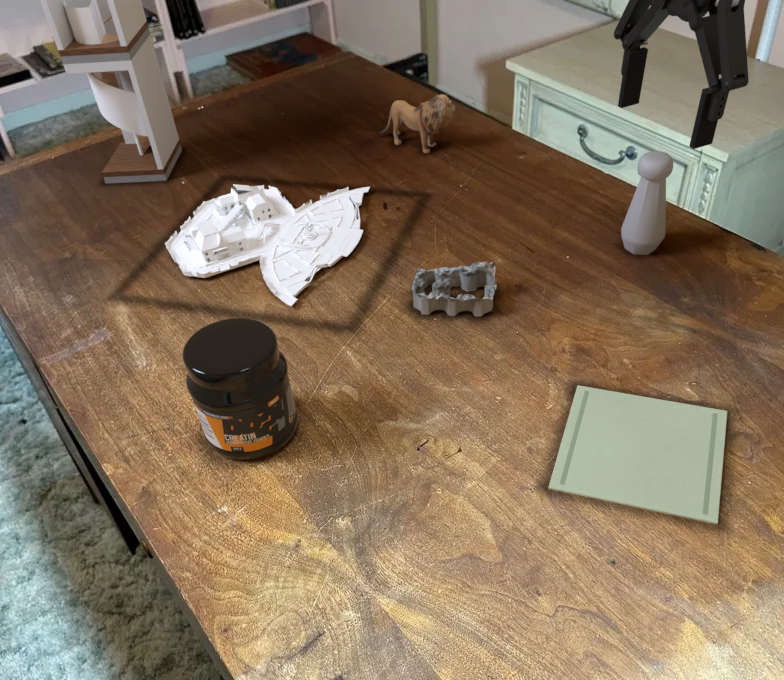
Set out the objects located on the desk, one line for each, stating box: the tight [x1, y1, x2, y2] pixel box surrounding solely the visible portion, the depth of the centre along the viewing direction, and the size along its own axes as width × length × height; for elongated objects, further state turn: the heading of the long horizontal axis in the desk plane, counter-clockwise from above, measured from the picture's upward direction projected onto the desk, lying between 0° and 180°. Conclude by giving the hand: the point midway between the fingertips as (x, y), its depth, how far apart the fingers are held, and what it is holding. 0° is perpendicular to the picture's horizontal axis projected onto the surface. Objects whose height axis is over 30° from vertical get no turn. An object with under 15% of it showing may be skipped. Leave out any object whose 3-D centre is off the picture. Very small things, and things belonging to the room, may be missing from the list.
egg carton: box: [410, 261, 498, 318], centre depth 98 cm, size 11×8×4 cm
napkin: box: [548, 384, 728, 525], centre depth 79 cm, size 16×16×1 cm
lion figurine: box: [379, 93, 456, 154], centre depth 129 cm, size 15×5×9 cm, turn 58°
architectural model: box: [164, 183, 371, 307], centre depth 112 cm, size 28×33×4 cm
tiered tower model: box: [39, 0, 183, 184], centre depth 121 cm, size 11×11×35 cm
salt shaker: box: [620, 150, 674, 256], centre depth 101 cm, size 6×6×13 cm
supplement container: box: [182, 317, 299, 461], centre depth 81 cm, size 10×10×12 cm
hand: (662, 124), depth 94 cm, fingers open, 13 cm apart
